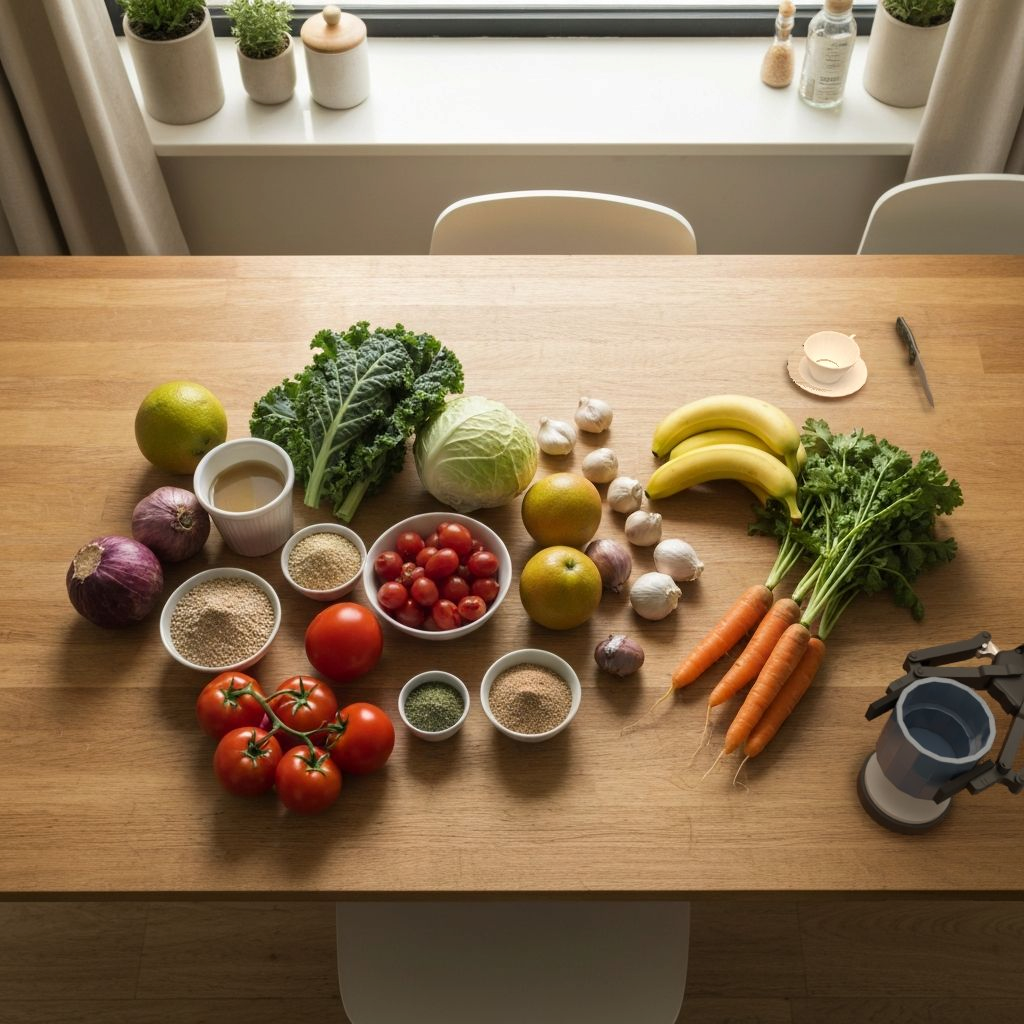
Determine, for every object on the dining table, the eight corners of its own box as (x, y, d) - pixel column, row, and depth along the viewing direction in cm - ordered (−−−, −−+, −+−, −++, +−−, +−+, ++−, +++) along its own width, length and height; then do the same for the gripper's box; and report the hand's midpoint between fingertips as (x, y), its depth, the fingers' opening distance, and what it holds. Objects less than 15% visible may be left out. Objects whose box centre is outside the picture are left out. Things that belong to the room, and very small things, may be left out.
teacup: (878, 368, 165) (887, 342, 161) (843, 414, 159) (851, 389, 155) (807, 337, 169) (814, 311, 165) (770, 381, 164) (776, 355, 159)
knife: (935, 417, 158) (941, 403, 156) (926, 417, 158) (932, 403, 156) (901, 324, 171) (906, 309, 168) (893, 324, 171) (897, 310, 168)
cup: (979, 746, 116) (1008, 704, 109) (950, 819, 112) (978, 780, 104) (893, 705, 120) (915, 661, 112) (861, 774, 115) (882, 733, 108)
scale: (959, 779, 123) (967, 767, 120) (930, 852, 118) (938, 841, 115) (875, 737, 126) (881, 725, 124) (843, 806, 121) (848, 795, 119)
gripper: (1133, 762, 113) (969, 862, 107) (981, 605, 125) (826, 686, 119) (1165, 729, 107) (993, 832, 101) (1002, 567, 119) (840, 651, 113)
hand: (903, 753), depth 110 cm, fingers closed on cup, 10 cm apart
